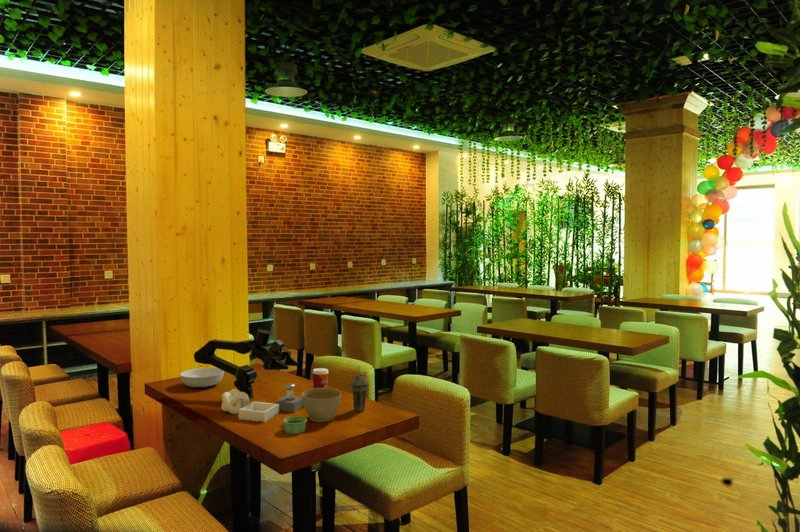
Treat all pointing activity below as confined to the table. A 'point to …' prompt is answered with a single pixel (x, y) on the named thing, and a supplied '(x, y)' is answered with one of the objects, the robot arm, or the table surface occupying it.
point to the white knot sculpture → (234, 401)
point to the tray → (258, 411)
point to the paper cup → (320, 377)
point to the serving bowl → (202, 377)
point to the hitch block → (290, 404)
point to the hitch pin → (289, 391)
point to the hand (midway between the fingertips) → (293, 366)
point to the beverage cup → (359, 391)
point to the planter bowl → (321, 403)
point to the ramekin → (295, 424)
